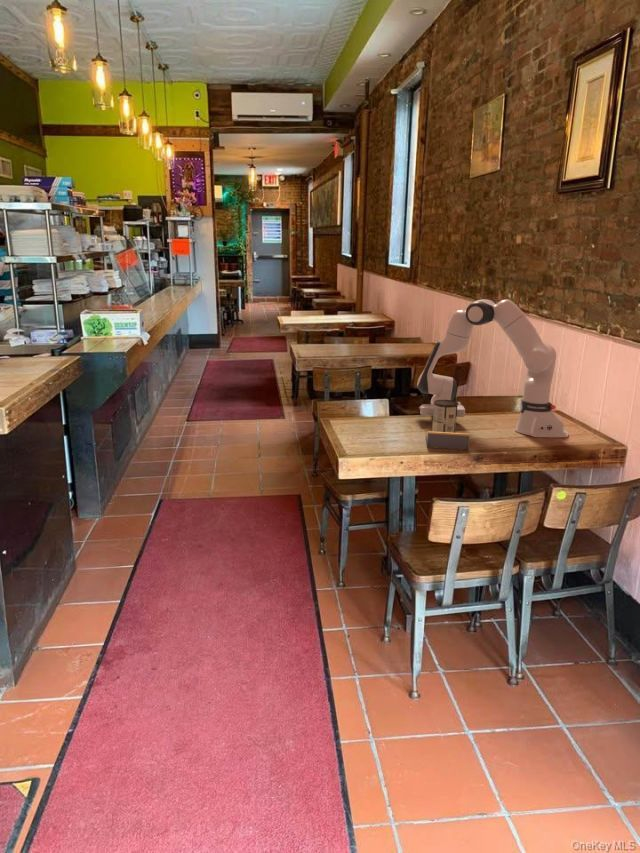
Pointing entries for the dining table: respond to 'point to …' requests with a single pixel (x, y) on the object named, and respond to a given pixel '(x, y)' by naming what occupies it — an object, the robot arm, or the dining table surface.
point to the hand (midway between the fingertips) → (443, 414)
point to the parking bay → (447, 440)
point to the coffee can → (444, 416)
